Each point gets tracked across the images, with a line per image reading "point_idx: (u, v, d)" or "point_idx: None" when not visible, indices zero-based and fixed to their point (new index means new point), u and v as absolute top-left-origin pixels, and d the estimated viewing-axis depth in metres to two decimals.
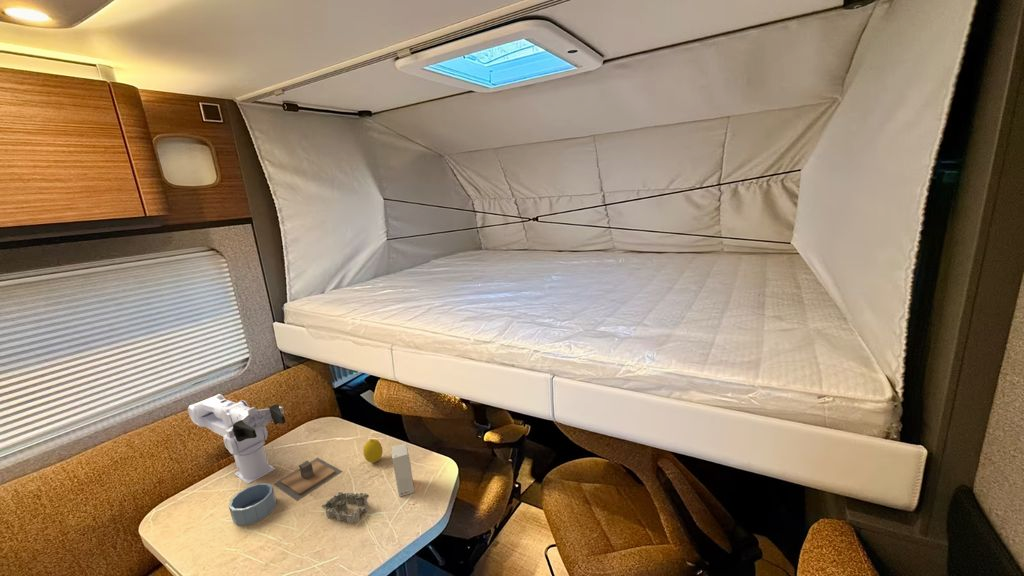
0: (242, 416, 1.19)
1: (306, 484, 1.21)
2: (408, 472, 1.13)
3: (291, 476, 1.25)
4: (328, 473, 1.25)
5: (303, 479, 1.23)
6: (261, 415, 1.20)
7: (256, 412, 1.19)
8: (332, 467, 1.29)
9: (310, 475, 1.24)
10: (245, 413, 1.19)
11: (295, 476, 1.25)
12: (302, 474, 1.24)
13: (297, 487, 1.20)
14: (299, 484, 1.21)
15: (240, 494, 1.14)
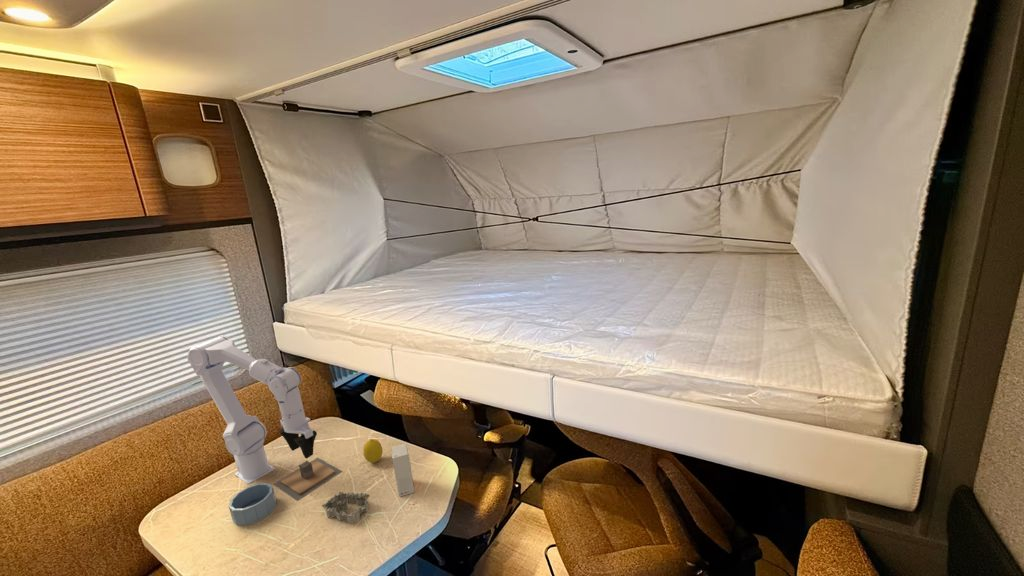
0: (304, 417, 1.21)
1: (306, 484, 1.21)
2: (408, 472, 1.13)
3: (291, 476, 1.25)
4: (328, 473, 1.25)
5: (303, 479, 1.23)
6: None
7: None
8: (332, 467, 1.29)
9: (310, 475, 1.24)
10: (304, 415, 1.22)
11: (295, 476, 1.25)
12: (302, 474, 1.24)
13: (297, 487, 1.20)
14: (299, 484, 1.21)
15: (240, 494, 1.14)
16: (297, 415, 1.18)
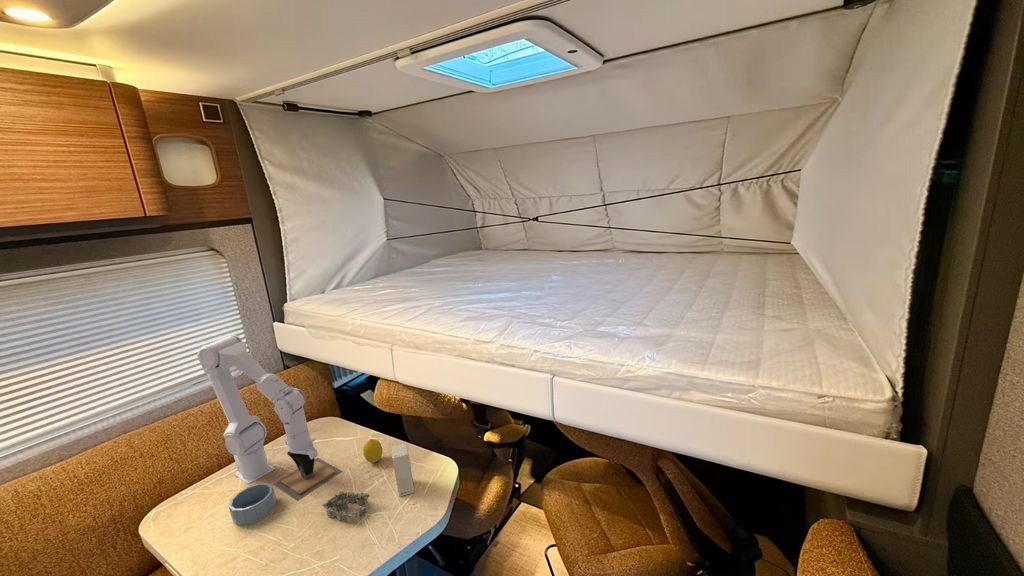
0: (309, 437, 1.22)
1: (306, 484, 1.21)
2: (408, 472, 1.13)
3: (291, 476, 1.25)
4: (328, 473, 1.25)
5: (303, 479, 1.23)
6: None
7: None
8: (332, 467, 1.29)
9: (310, 475, 1.24)
10: (309, 435, 1.23)
11: (295, 476, 1.25)
12: (302, 474, 1.24)
13: (297, 487, 1.20)
14: (299, 484, 1.21)
15: (240, 494, 1.14)
16: (302, 436, 1.20)
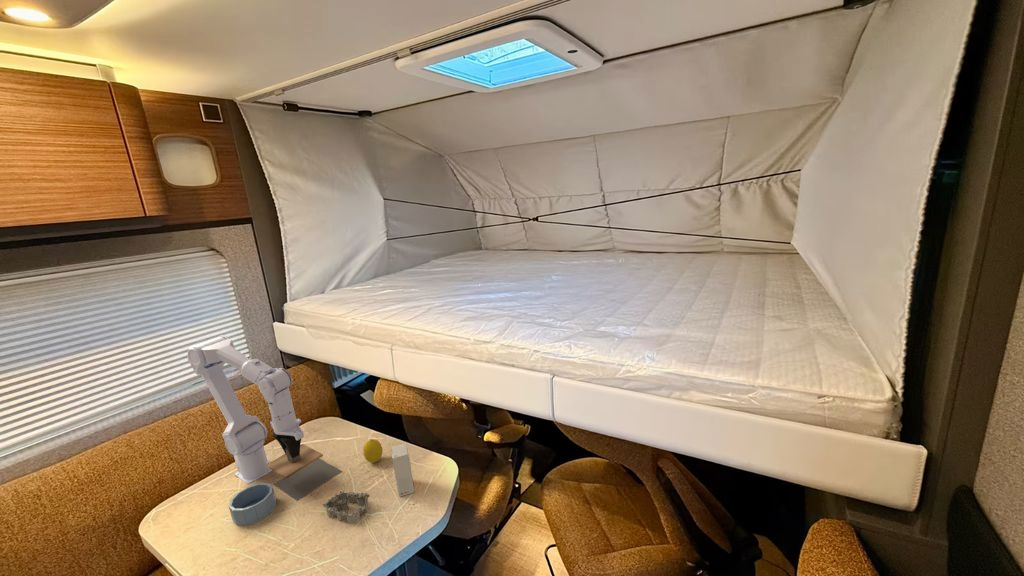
0: (295, 418, 1.19)
1: (292, 467, 1.18)
2: (408, 472, 1.13)
3: (277, 460, 1.22)
4: (315, 456, 1.22)
5: (290, 463, 1.20)
6: None
7: None
8: (332, 467, 1.29)
9: (297, 458, 1.21)
10: (295, 416, 1.20)
11: (282, 459, 1.22)
12: (288, 457, 1.20)
13: (283, 471, 1.16)
14: (285, 467, 1.18)
15: (240, 494, 1.14)
16: (287, 416, 1.16)
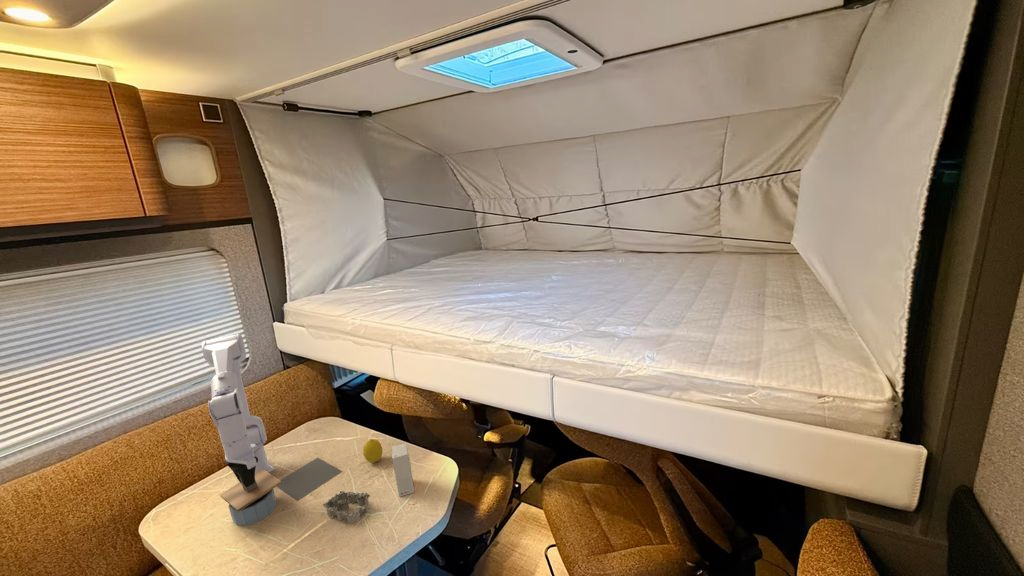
0: (248, 444, 1.09)
1: (247, 498, 1.08)
2: (408, 472, 1.13)
3: (233, 489, 1.13)
4: (273, 484, 1.12)
5: (245, 492, 1.11)
6: None
7: None
8: (332, 467, 1.29)
9: (253, 487, 1.11)
10: (249, 442, 1.10)
11: (237, 488, 1.13)
12: (244, 486, 1.11)
13: (236, 502, 1.07)
14: (239, 498, 1.09)
15: None
16: (239, 443, 1.07)
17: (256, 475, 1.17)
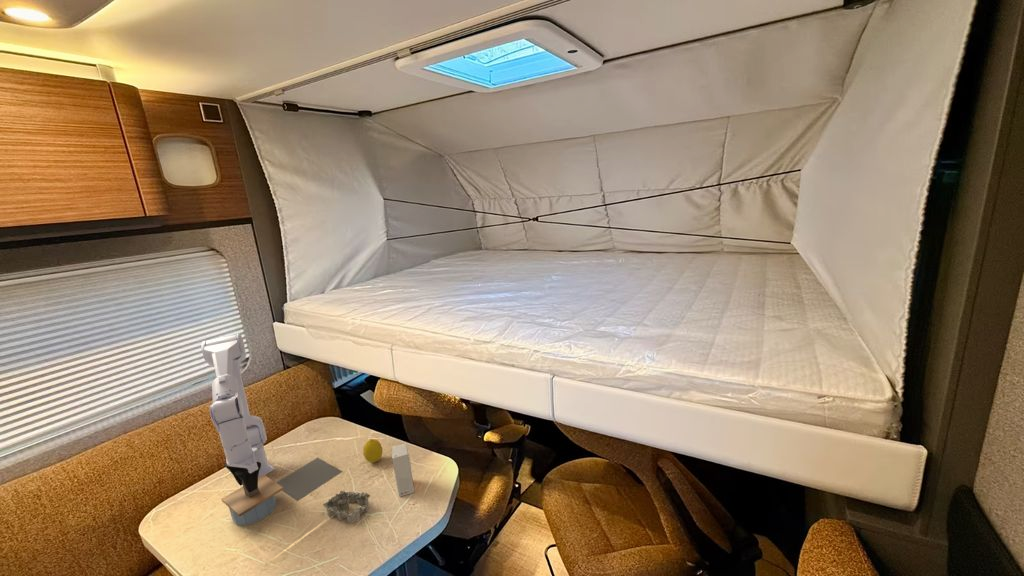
0: (250, 448, 1.09)
1: (248, 503, 1.09)
2: (408, 472, 1.13)
3: (234, 493, 1.13)
4: (275, 490, 1.13)
5: (246, 497, 1.11)
6: None
7: None
8: (332, 467, 1.29)
9: (255, 492, 1.12)
10: (250, 446, 1.10)
11: (239, 493, 1.13)
12: (245, 491, 1.11)
13: (238, 507, 1.08)
14: (241, 503, 1.09)
15: None
16: (240, 447, 1.07)
17: (258, 481, 1.17)
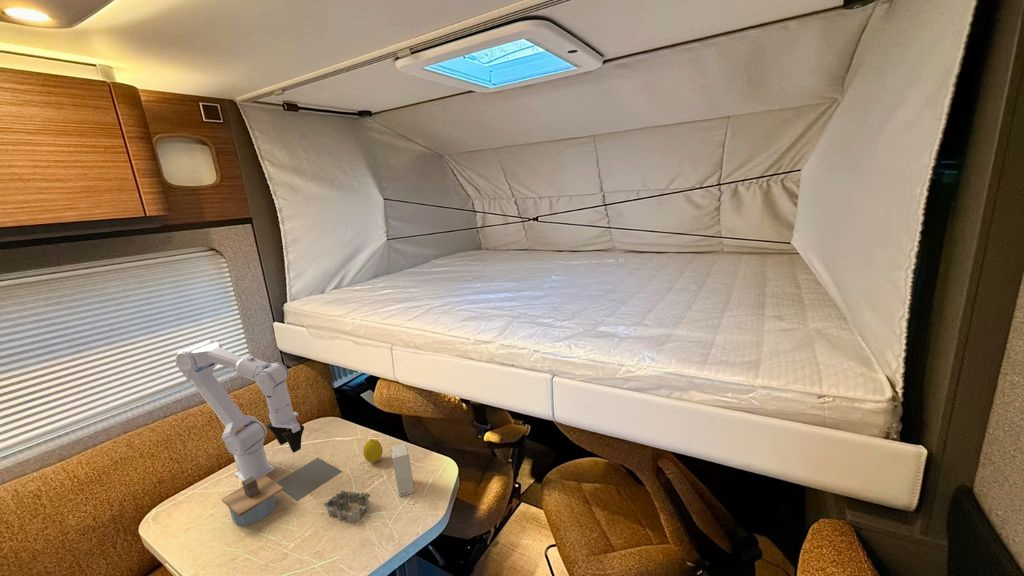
0: (292, 411, 1.22)
1: (248, 503, 1.09)
2: (408, 472, 1.13)
3: (234, 493, 1.13)
4: (275, 490, 1.13)
5: (246, 497, 1.11)
6: None
7: None
8: (332, 467, 1.29)
9: (255, 492, 1.12)
10: (292, 410, 1.23)
11: (239, 493, 1.13)
12: (245, 491, 1.11)
13: (238, 507, 1.08)
14: (241, 503, 1.09)
15: None
16: (284, 409, 1.19)
17: (258, 481, 1.17)
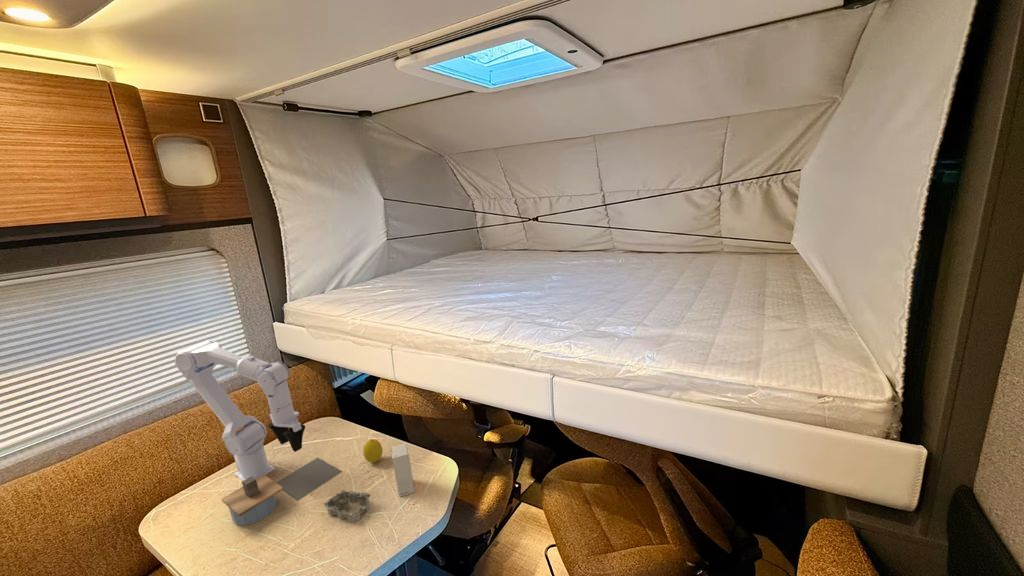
0: (293, 411, 1.22)
1: (248, 503, 1.09)
2: (408, 472, 1.13)
3: (234, 493, 1.13)
4: (275, 490, 1.13)
5: (246, 497, 1.11)
6: None
7: None
8: (332, 467, 1.29)
9: (255, 492, 1.12)
10: (293, 409, 1.23)
11: (239, 493, 1.13)
12: (245, 491, 1.11)
13: (238, 507, 1.08)
14: (241, 503, 1.09)
15: None
16: (285, 409, 1.20)
17: (258, 481, 1.17)
